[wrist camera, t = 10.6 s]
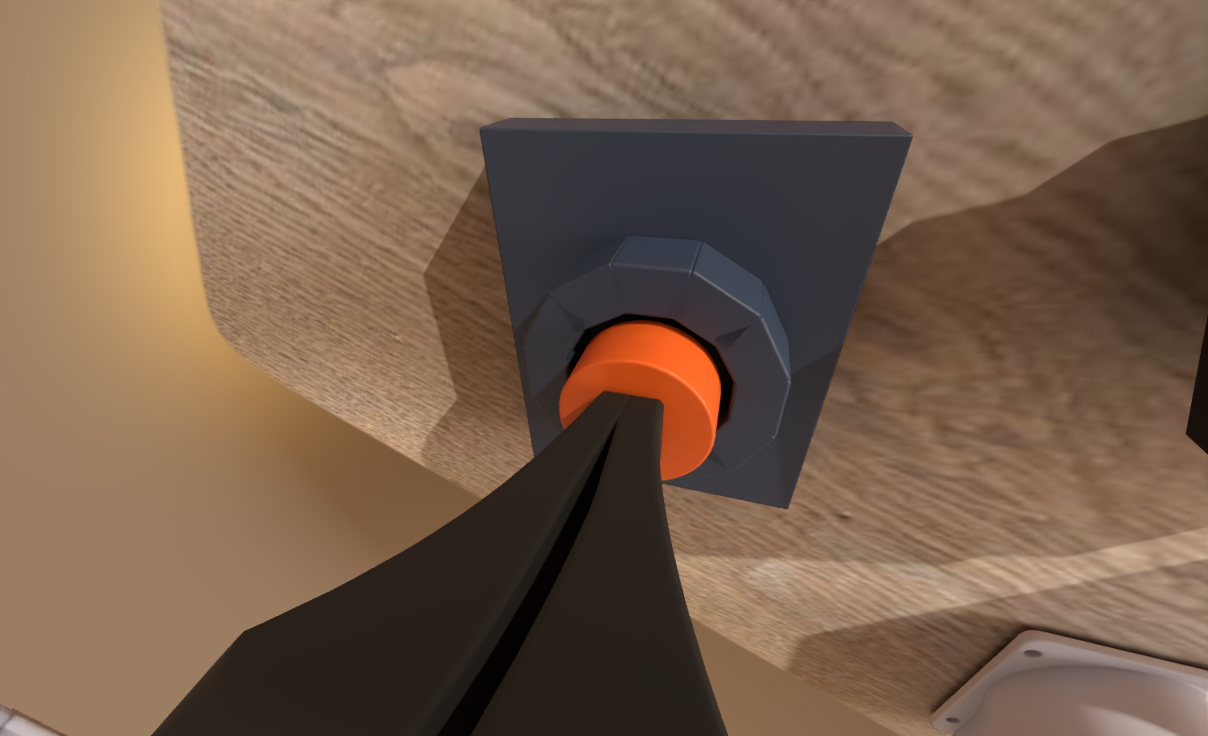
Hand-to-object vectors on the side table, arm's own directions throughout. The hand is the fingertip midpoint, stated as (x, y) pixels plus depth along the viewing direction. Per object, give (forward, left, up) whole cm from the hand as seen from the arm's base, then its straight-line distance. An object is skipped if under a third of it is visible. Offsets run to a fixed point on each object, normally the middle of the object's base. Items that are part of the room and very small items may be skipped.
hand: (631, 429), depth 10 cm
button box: (0, 0, -5) cm, 5 cm away
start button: (0, 0, -2) cm, 2 cm away
